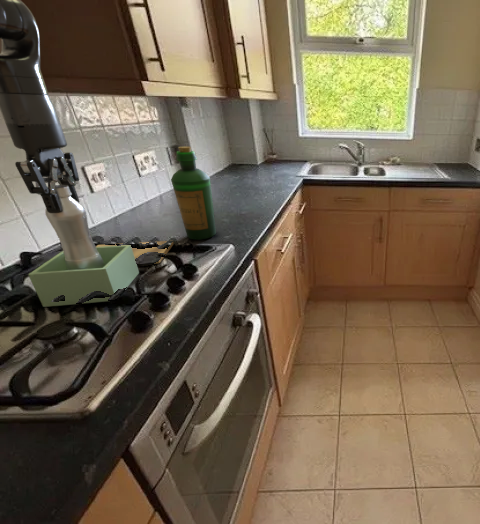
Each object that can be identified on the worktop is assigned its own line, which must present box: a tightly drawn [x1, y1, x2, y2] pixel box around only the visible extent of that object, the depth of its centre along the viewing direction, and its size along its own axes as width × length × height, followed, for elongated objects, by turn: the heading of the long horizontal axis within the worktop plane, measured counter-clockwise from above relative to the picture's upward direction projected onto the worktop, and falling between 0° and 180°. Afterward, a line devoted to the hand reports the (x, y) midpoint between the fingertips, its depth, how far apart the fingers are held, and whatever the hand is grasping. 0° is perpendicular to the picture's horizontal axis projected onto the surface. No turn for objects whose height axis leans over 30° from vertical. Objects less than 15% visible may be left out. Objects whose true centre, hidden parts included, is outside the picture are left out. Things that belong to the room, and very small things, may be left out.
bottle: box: [170, 146, 217, 241], centre depth 103 cm, size 11×11×28 cm
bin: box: [27, 245, 140, 308], centre depth 76 cm, size 14×14×8 cm
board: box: [95, 240, 174, 265], centre depth 94 cm, size 20×14×1 cm
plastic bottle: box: [44, 184, 104, 270], centre depth 71 cm, size 6×7×20 cm
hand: (64, 207), depth 69 cm, fingers closed on plastic bottle, 6 cm apart
